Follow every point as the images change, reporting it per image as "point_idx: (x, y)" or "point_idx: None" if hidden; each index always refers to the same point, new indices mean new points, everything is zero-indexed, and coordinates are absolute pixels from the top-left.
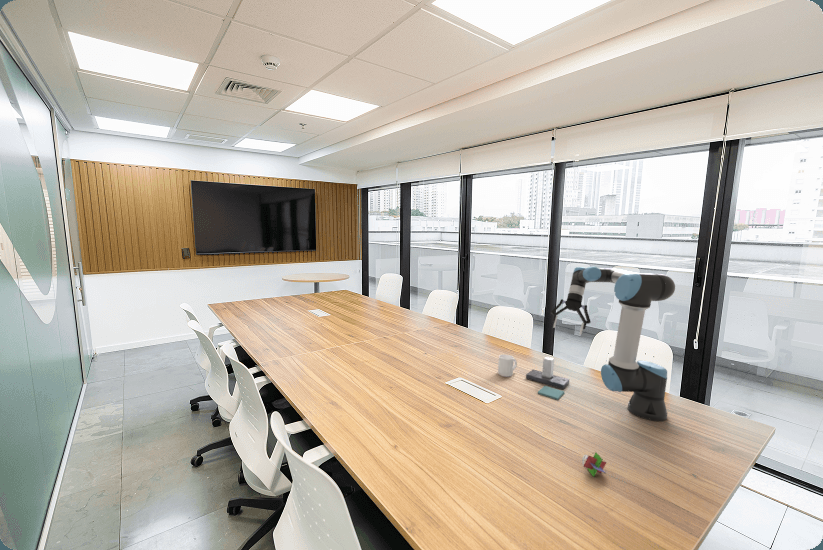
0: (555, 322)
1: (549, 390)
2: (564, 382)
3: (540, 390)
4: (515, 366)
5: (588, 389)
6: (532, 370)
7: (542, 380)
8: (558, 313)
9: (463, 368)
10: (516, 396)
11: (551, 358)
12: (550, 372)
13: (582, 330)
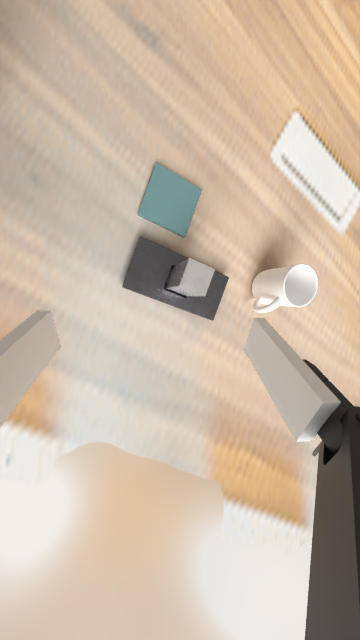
0: (278, 342)
1: (174, 207)
2: (137, 255)
3: (195, 200)
4: (255, 305)
5: (71, 265)
6: (214, 311)
7: None
8: (353, 446)
9: (338, 284)
10: (243, 162)
11: (189, 279)
12: (178, 264)
13: (12, 331)
